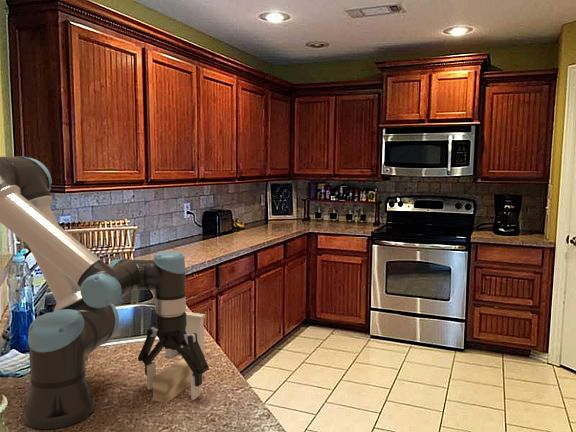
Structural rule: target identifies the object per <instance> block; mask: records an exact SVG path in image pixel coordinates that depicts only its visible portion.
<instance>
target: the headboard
mask: <svg viewBox="0 0 576 432" xmlns="http://www.w3.org/2000/svg"><path fill="white" fill-rule="evenodd" d="M185 313H186V321H187V325H186V329H185V331H186V334H193V333H196V334H197V340H198V343H199V346H200V348H201V350H202V353H203V355H204V356H205V337H204V336H205V335H204V334H205V332H204V331H205V328H204V322H205V321H204V319H206V314H204V313H197V312H191V311H190V312H189V311H185ZM185 341H187V340H185ZM182 347H183V345H182V346H181V348H182ZM189 349H190V348H189ZM164 350H165V351H164V354H165V357H164V358H169V359H171V358H174V357H175V356H177V355H178V354H180V353H178V352H177V350H172V349H165V348H164ZM180 355H181V354H180Z"/></svg>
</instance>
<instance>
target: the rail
mask: <svg viewBox="0 0 576 432" xmlns="http://www.w3.org/2000/svg"><path fill="white" fill-rule="evenodd" d="M196 369H197V368H196ZM192 373H193V372H192V370H191V369H190V367H189V366H188V364H187V363H186V361H185V360H184V358H183V357H182V359H180V360H178V361H177V362H175V363H173V364H172V365H170V366H169V367H167V368H166V369H164V370H163V371H161V372H159V373H158V374H157V373H156V376H154V377H152V378H153V388H152V400H153V401H154V402H160V403H163V404H167V403H168V402H170V401H171V400H173V399H174V398H175V397H177V396H178V395H179V394H181V393H182V392H184V391H185V390H187V389H189V387H191V374H192Z"/></svg>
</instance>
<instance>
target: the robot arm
mask: <svg viewBox="0 0 576 432" xmlns="http://www.w3.org/2000/svg"><path fill="white" fill-rule="evenodd" d="M52 183H53V180H52V176H51V173H50V170H49V169H48V167H46V165H45V164H43V163H42V162H41V161H39V160H38V159H35V158H32V157H27V156H19V155H18V156H17V155H16V156H0V223H1V224H2V225H3V226H4V227H5V228H7V229H8V231H10V232H12V233H13V234H14V235H15V236H16V237H18V238H19V239H20V240H21V241H23V242H24V243H25V244H26V245H27V246H28V247H29V249H30V251H31V254H32V256H33V257H34V260H35V262H36V263H37V266H38V267H39V270H40V272H41V273H42V276H43V278H44V280H45V281H46V284H47V286H48V288H49V290H50V292H51V294H52V295H53V297H54V300H55V301H56V303H55V307H54V309H53V311H52V312H46V313H44V314H42V315H39V316H37V317H36V318H35V319H34V320H33V321H32V322H31V323H30V325H29V328H28V337H27V345H28V352H29V353H28V355H29V369H30V390H29V393H28V398H27V401H26V404H25V406H24V409H23V419H24V423H25V425H26V426H28V427H30V428H33V429H37V430H55V429H62V428H65V427H69V426H72V425H75V424H77V423H79V422H80V421H83V420H85V419H86V418H88V417H89V416H91V414H92V413H93V412H94V410H95V405H96V403H95V395H94V393H93V392H92V389H91V386H90V383H89V381H88V380H87V377H86V376H87V375H86V357H87V356H88V355H89V354H91V353H92V352H93V351H95V350H96V349H98V348H99V347H101V346H102V345H105V344H106V343H107V342H108V341H109V340H110V339H111V338H112V337H113V336H114V335H115V334H116V332H117V329H118V327H119V323H120V315H119V312H118V309H117V307H116V306H115V304H114V303H116V302H117V301H119V300H120V299H121V298H123V297H125V296H127V295H129V294H130V293H132V292H134V291H135V290H136V291H137V290H142V291H143V290H144V291H145V290H146V291H147V290H148V291H152V290H153V291H154V294H155V296H154V297H155V313H156V315H155V325H154V326H152V327H150V328H148V329H147V330H146V338H145V339H144V342H143V344H142V346H141V350H140V353H139V355H138V356H137V360H138V361H139V362H142V363H143V364H144V374H145V376H146V380H147V381H146V384H147V385H146V388H147V390H153V378H152V377H154V376H156V375H157V363H156V361H155V359H156V358H157V356H158V355H159V354H160V353H161V351H162V350H163V349H164V350H165V349H172V350H177V352H178V353H180V355H181V358H182V359H183V358H184V360H185V361H186V363H187V364H188V366H189V367H190V369H191V370H192V372H193V373H192V374H191V386H190V393H191V394H190V397H191V398H190V400H192V401H195V400H196V399H197V398H199V397H200V396H201V389H200V387H201V386H202V384H203V374H204V373H206V372H207V371H208V370H209V369H210V367H209V365H208V362H207V359H206V357H205V354H204V355H203V353H202V350H201V348H200V346H199V343H198V340H197V334H196V333H193V334H186V331H185V329H186V325H187V321H186V313H185V312H187V296H186V295H187V294H186V293H187V291H186V284H187V283H186V280H187V279H186V272H187V269H186V261H185V255H184V254H183V253H182V252H179V251H174V250H173V251H172V250H170V251H159V252H157V253H155V255H154V256H153V259H129V258H122V259H120V258H119V259H113V260H111V261H110V262H109V264H108V263H106V262H104V260H102V259H100V257H98V256H97V255H96V254H95V253H93V252H92V251H91V250H90V249H89V248H87V247H86V246H84V245H83V244H82V243H81V242H80V241H78V240H77V239H76V238H75V237H74V236H72V235H71V234H70V233H69V232H68V231H66V230H65V229H64V228H63V227H61V226H60V225H59V223H58V220H57V218H56V216H55V214H54V212H53V210H52V208H51V207H50V205H51V202H52V199H53V196H52V193H51V192H50V191H51V189H52V186H51V185H52ZM156 338H158V342H157V343H156V344H155V346H154V343H155V341H156ZM185 340H187V341H185ZM182 345H183V347H182V348H181V346H182ZM153 346H154V348H153V349H152V347H153ZM189 348H190V349H189ZM151 349H152V350H151ZM85 356H86V357H85ZM196 368H197V369H196Z"/></svg>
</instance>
